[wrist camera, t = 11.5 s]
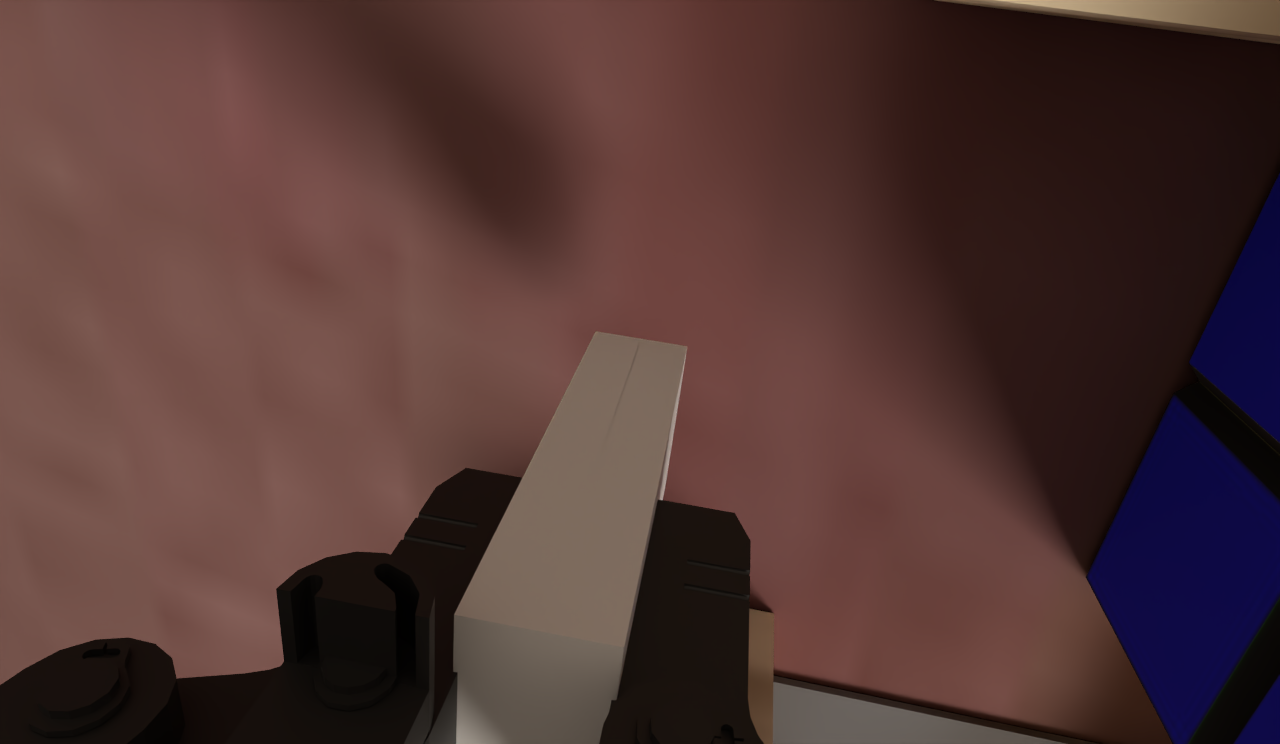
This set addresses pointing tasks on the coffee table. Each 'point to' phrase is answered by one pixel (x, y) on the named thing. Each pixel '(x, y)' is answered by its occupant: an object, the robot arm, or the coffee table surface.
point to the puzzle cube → (1210, 524)
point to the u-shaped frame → (779, 707)
